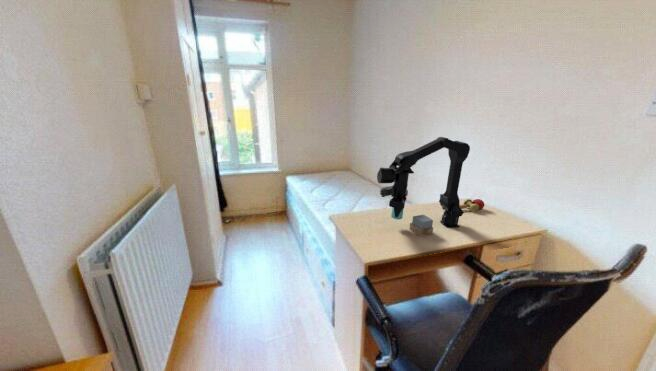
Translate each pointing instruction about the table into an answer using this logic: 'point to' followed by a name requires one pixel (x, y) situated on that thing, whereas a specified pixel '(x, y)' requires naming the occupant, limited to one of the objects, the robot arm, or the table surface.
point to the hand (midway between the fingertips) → (397, 214)
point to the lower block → (420, 230)
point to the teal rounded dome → (398, 216)
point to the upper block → (422, 221)
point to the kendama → (473, 205)
